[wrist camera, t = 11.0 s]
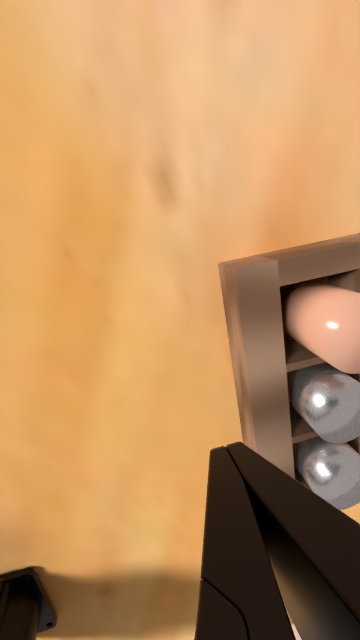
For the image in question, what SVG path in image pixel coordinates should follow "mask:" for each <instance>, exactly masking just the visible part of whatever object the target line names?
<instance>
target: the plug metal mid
mask: <svg viewBox="0 0 360 640" xmlns="http://www.w3.org/2000/svg"><path fill="white" fill-rule="evenodd" d="M286 373H287V385H288V398H289V404H290V405H291V406H292V407H293V408H294V409H295V410H296V411H297V412H298V413H299V415H300V416H301V417H302V418H303V419H304V420H305V421H306V422H307V423H308V424H309V425H310V426H311V427H312V428H313V429H314V431H315V432H316V433H317V434H318V435H319V436H320V437H321V438H322V439H324V440H325V441H327V442H330V443H344V442H348V441H351V440H353V439H355V438H356V437H358V436H359V435H360V383H359V382H358V381H356V380H355V379H353V378H352V377H350V376H349V375H347V374H346V373H344V372H342V371H340V370H338V369H337V368H335V367H334V366H332V365H331V364H329V363H328V362H324V363H320V364H316V365H313V366H309V367H305V368H301V369H297V370H293V371H289V372H286Z"/></svg>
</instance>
